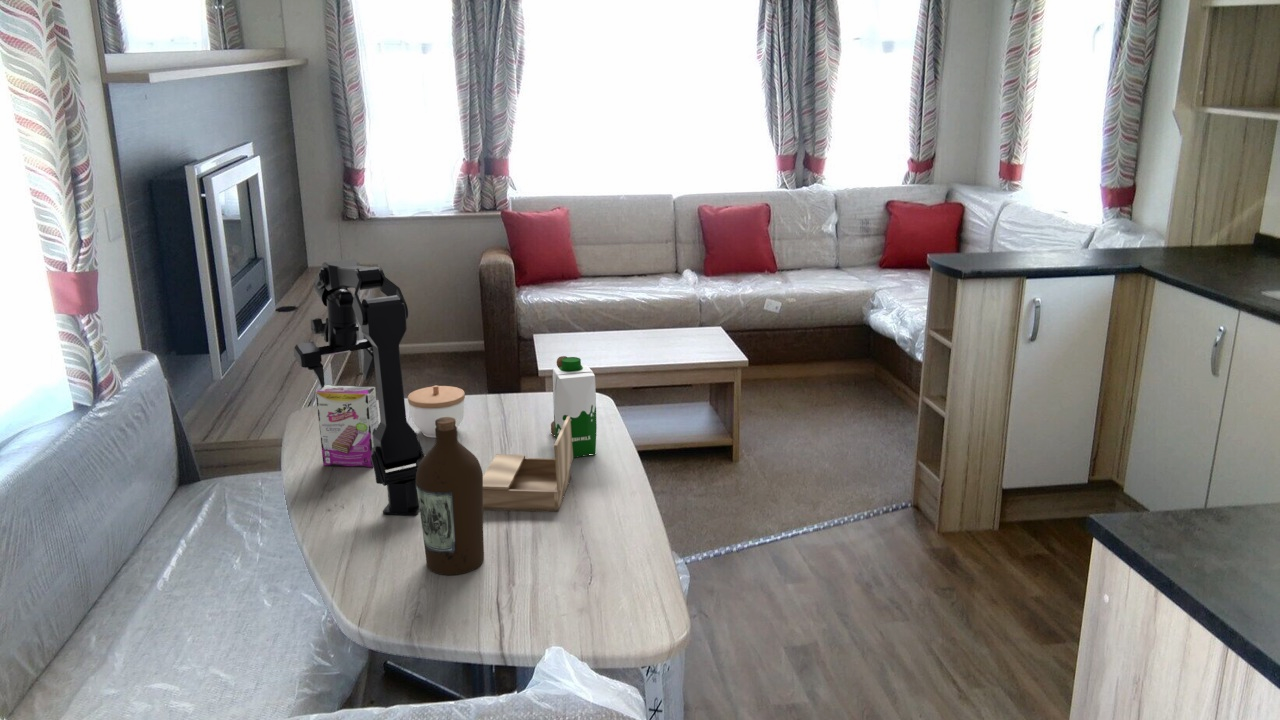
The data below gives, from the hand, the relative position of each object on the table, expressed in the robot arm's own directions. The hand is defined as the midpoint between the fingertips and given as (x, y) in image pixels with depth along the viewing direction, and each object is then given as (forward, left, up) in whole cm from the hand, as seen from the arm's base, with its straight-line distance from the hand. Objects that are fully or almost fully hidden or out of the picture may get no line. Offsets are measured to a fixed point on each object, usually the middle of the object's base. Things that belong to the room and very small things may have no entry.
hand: (344, 383), depth 202 cm
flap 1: (-19, -38, -11) cm, 44 cm away
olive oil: (-47, -36, -16) cm, 61 cm away
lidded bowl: (+13, -16, -16) cm, 26 cm away
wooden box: (-19, -42, -15) cm, 49 cm away
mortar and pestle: (+14, -45, -16) cm, 49 cm away
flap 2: (-19, -50, -7) cm, 54 cm away
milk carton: (+3, -49, -16) cm, 51 cm away
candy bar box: (-6, -3, -16) cm, 17 cm away
